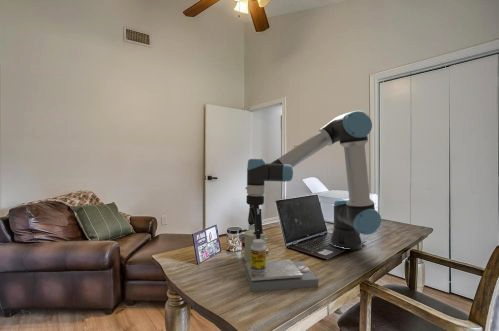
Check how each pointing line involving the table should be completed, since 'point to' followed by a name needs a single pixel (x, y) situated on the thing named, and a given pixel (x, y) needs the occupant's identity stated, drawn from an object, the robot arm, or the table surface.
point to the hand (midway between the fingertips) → (254, 244)
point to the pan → (275, 270)
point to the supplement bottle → (258, 256)
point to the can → (250, 243)
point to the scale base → (285, 280)
